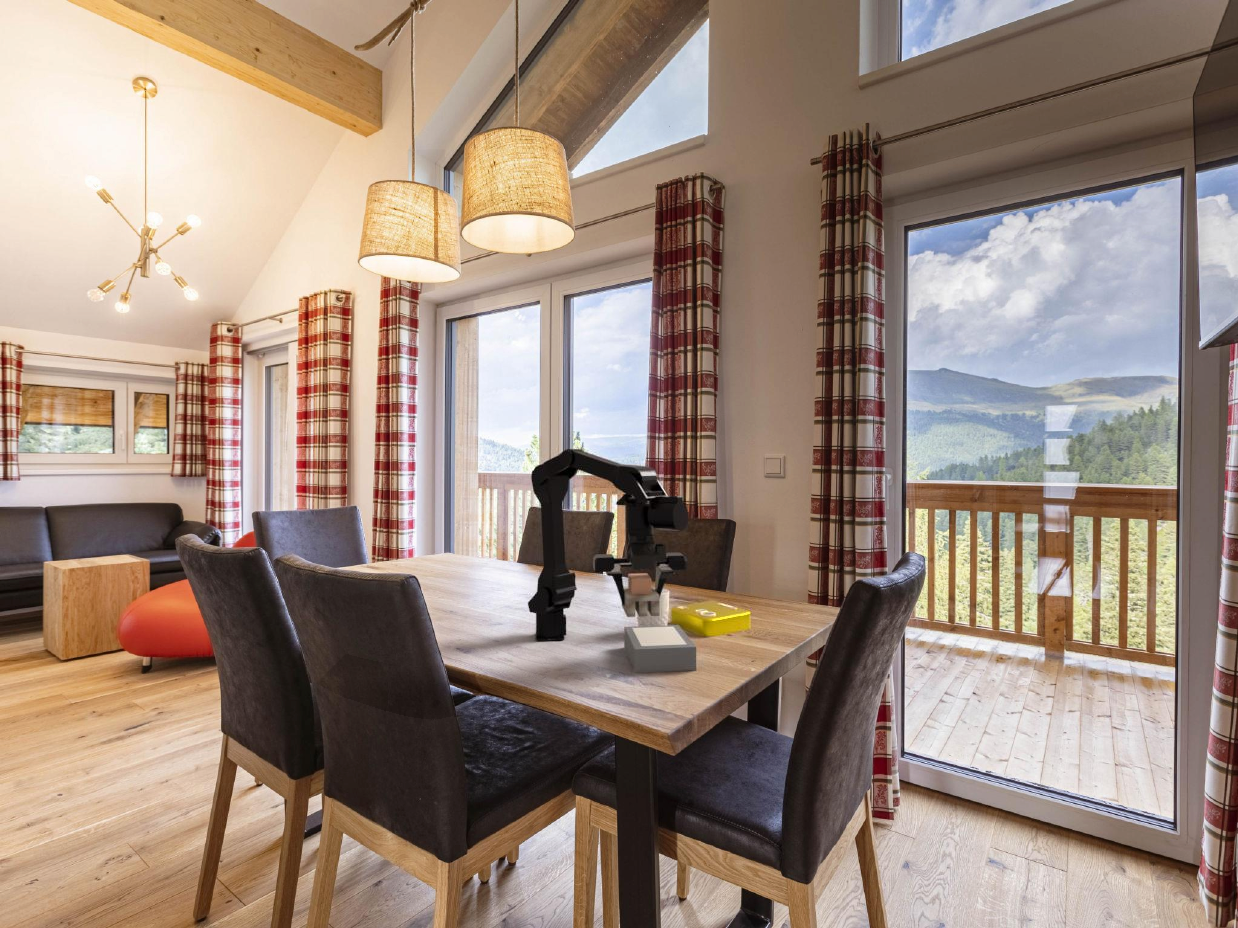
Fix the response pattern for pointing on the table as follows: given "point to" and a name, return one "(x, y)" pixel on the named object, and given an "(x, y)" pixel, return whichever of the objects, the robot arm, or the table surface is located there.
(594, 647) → the table surface
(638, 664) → the dock
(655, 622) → the white cup
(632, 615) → the grey slotted block
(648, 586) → the orange block
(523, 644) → the table surface
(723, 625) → the element tile
